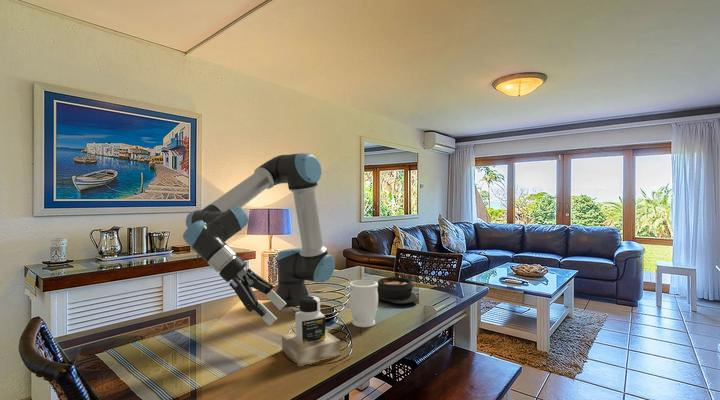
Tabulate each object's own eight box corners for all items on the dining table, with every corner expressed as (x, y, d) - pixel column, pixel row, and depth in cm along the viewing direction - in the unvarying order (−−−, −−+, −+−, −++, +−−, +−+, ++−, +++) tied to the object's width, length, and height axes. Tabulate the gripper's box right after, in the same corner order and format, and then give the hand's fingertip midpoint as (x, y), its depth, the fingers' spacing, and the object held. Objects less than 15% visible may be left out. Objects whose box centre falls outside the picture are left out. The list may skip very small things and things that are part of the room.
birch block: (320, 342, 116) (320, 326, 116) (340, 357, 105) (340, 340, 105) (282, 352, 109) (282, 335, 109) (299, 369, 98) (299, 351, 98)
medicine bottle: (302, 344, 102) (301, 303, 102) (295, 335, 109) (294, 296, 108) (325, 339, 105) (325, 299, 105) (317, 330, 112) (317, 292, 111)
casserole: (364, 294, 169) (364, 276, 169) (398, 290, 177) (398, 273, 177) (389, 310, 146) (389, 289, 146) (427, 304, 154) (427, 285, 154)
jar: (364, 316, 139) (364, 278, 138) (384, 323, 131) (384, 282, 131) (343, 323, 131) (343, 282, 131) (363, 331, 124) (363, 288, 123)
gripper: (233, 264, 119) (278, 309, 119) (200, 283, 94) (258, 340, 94) (249, 248, 119) (294, 293, 119) (220, 263, 94) (278, 319, 94)
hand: (278, 314), depth 107 cm, fingers open, 13 cm apart
